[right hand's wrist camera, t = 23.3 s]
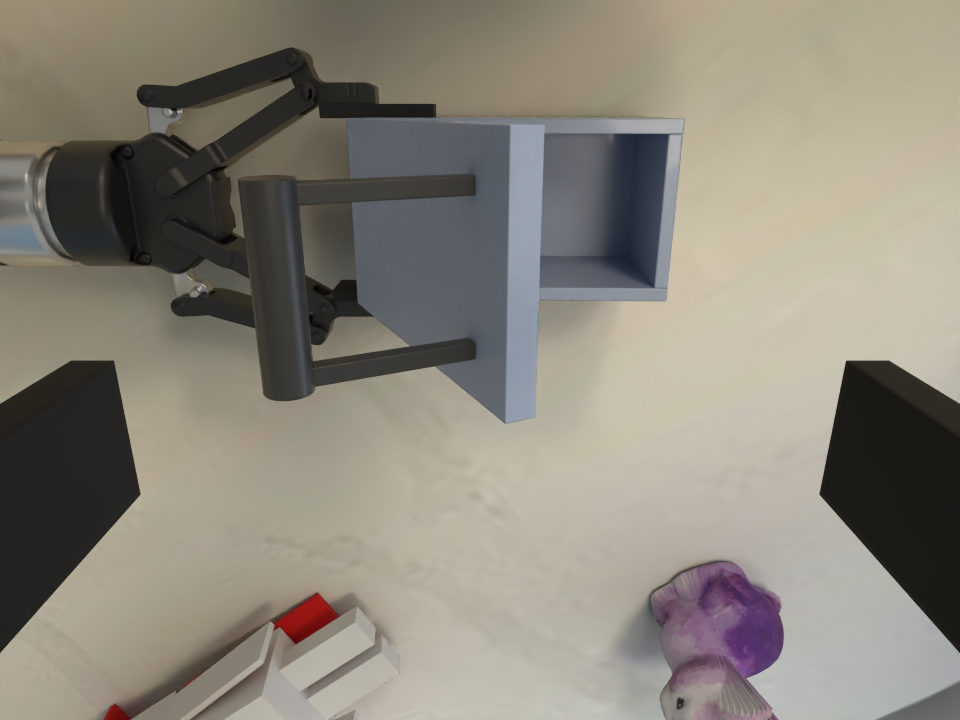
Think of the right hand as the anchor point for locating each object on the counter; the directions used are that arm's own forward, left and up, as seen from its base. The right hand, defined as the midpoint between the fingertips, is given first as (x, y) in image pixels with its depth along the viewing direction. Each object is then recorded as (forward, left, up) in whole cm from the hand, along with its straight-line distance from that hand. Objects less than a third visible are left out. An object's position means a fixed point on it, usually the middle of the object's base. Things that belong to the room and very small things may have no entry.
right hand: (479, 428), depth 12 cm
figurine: (+28, +30, -38) cm, 56 cm away
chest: (-1, +2, -38) cm, 38 cm away
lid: (+1, -2, -19) cm, 20 cm away
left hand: (+1, -2, -31) cm, 31 cm away
